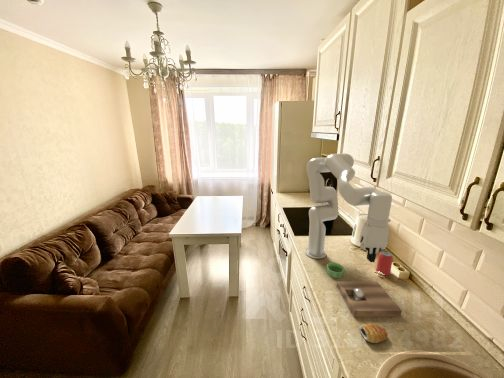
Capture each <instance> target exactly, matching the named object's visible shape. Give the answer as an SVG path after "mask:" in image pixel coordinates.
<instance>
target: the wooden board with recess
mask: <svg viewBox="0 0 504 378" xmlns="http://www.w3.org/2000/svg"><path fill="white" fill-rule="evenodd" d="M336 288H337V290H338V292H339V293H340V296H341V297H342V299H343V301H344V303H345V304H346V306H347V308H348V309H349V312H350V314H351V315H352V317H353V318H356V317H357V318H358V317H361V318H362V317H363V318H364V317H365V318H368V317H371V318H372V317H373V318H375V317H401V316H402V312H403V310H402V309H401V308H400V307H399V305H398V304H397V303H396V302H395V301H394V300H393V298H392V297H391V296H390V295H389V294H388V292H387V291H386V290H385V289H384V287H382V285H381V284H380V283H379V282H378V281H375V280H374V281H336ZM353 288H361V289H362V290H363V293H364V300H352V299H351V298H350V296H351V295H352V296H353V294H352V290H353ZM349 295H350V296H349Z"/></svg>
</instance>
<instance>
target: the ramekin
mask: <svg viewBox="0 0 504 378" xmlns="http://www.w3.org/2000/svg"><path fill="white" fill-rule="evenodd" d="M333 270H335V271H333ZM326 272H327V275H328V276H330V277H331V278H334V279H340V278H343V276H344V272H345V267H344V266H343V265H342V264H340V263H337V262H329V263H327V264H326Z"/></svg>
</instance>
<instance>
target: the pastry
mask: <svg viewBox="0 0 504 378" xmlns="http://www.w3.org/2000/svg"><path fill="white" fill-rule="evenodd" d="M358 330H359V331H360V332H359V333H360V334H361V335H362V337H363V338H364V340H365V341H367V342H369V343H370V344H378V343H381V342H383V341H385V340H387V339H388V332H387V330H386V329H385V328H384V327H383V326H379V325H376V324H374V323H363V324H362V325H360V326H358Z"/></svg>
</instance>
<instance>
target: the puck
mask: <svg viewBox="0 0 504 378" xmlns="http://www.w3.org/2000/svg"><path fill="white" fill-rule="evenodd" d="M352 294H353V295H352V297H353V299H354V301H363V300H364V293H363V290H362V289H361V288H353V290H352Z"/></svg>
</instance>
